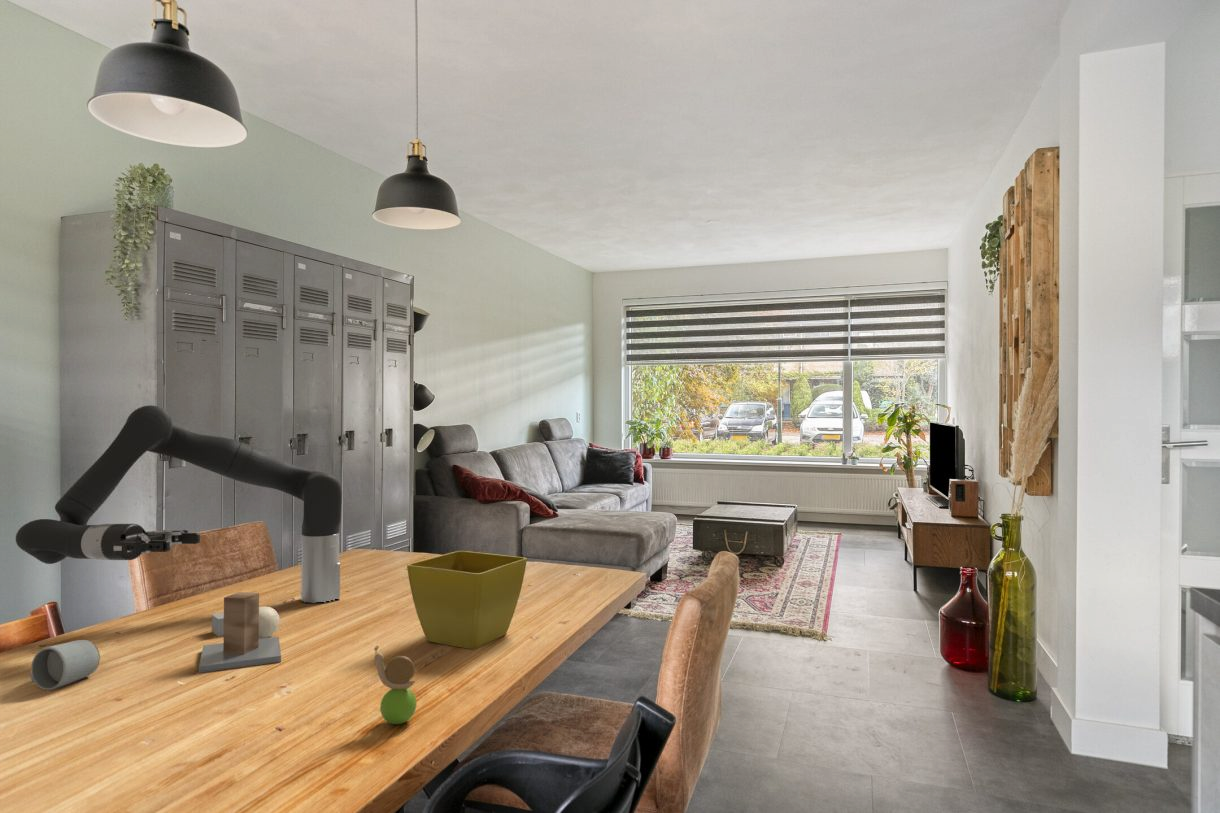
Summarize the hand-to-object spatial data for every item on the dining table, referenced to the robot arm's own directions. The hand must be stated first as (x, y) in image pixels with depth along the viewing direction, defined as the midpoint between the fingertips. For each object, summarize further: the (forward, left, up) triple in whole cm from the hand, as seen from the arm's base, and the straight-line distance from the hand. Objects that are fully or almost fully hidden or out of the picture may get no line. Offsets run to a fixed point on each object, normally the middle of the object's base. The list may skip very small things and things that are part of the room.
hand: (184, 542), depth 149 cm
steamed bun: (-15, -2, -22) cm, 27 cm away
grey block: (-8, -10, -22) cm, 25 cm away
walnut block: (-11, +10, -21) cm, 26 cm away
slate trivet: (-11, +10, -22) cm, 27 cm away
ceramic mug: (+18, +12, -22) cm, 31 cm away
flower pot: (-55, +18, -22) cm, 62 cm away
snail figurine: (-33, +56, -22) cm, 69 cm away
